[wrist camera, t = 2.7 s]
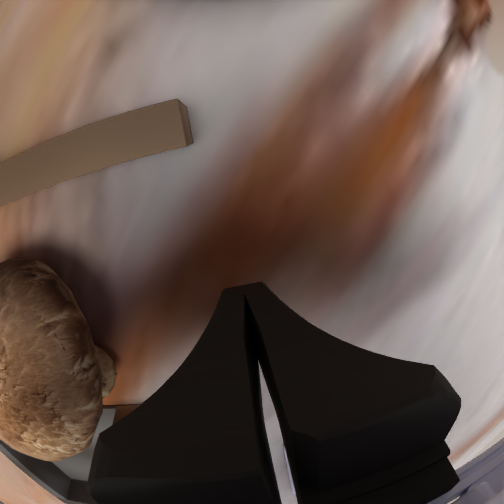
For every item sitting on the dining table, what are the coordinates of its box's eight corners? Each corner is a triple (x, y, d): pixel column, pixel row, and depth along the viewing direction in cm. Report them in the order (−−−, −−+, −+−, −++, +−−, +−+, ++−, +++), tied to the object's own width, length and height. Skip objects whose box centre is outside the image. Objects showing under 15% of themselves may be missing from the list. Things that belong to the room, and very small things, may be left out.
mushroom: (173, 449, 10) (60, 524, 4) (61, 409, 13) (-28, 435, 7) (148, 252, 11) (-8, 235, 5) (42, 268, 14) (-58, 263, 8)
